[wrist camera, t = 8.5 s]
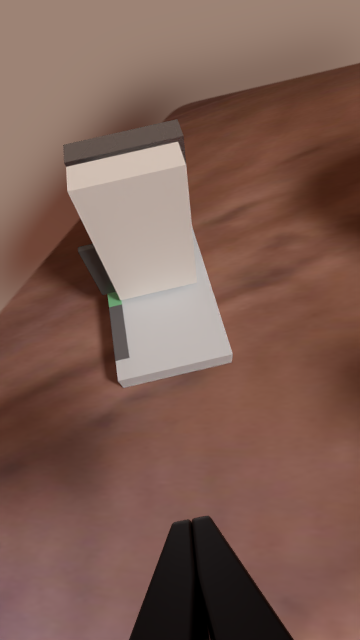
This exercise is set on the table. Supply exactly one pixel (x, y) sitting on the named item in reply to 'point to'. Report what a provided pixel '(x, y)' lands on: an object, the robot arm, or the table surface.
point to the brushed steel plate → (124, 143)
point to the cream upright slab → (136, 220)
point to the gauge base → (168, 331)
